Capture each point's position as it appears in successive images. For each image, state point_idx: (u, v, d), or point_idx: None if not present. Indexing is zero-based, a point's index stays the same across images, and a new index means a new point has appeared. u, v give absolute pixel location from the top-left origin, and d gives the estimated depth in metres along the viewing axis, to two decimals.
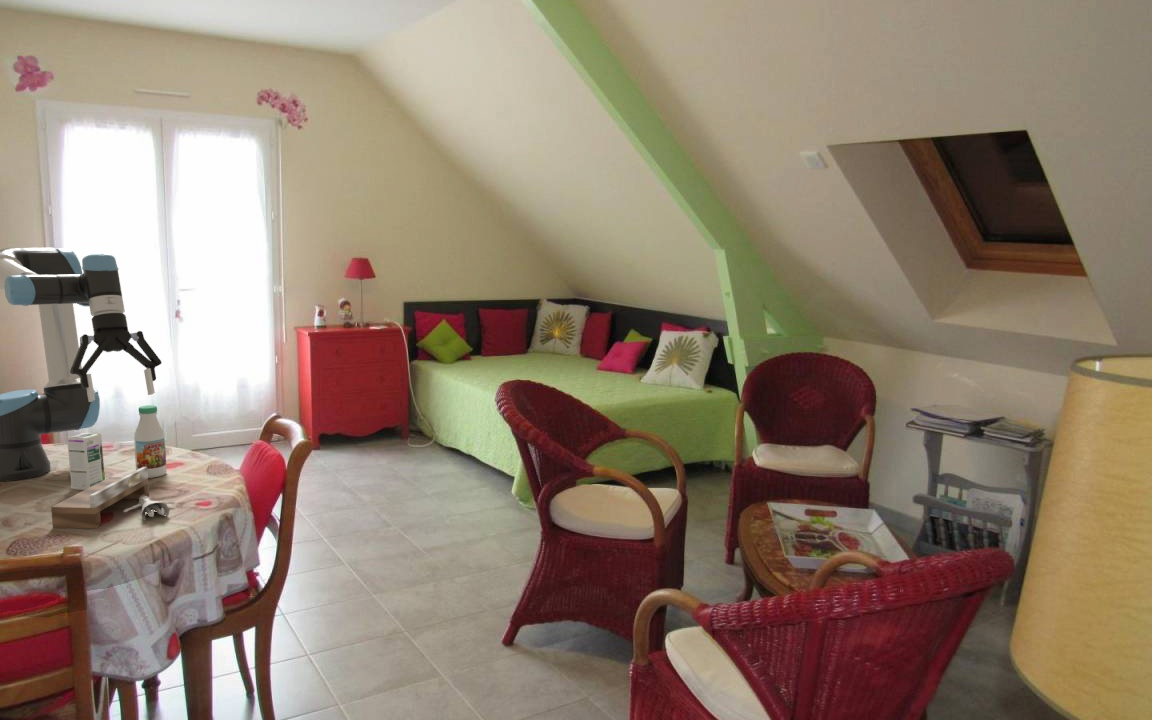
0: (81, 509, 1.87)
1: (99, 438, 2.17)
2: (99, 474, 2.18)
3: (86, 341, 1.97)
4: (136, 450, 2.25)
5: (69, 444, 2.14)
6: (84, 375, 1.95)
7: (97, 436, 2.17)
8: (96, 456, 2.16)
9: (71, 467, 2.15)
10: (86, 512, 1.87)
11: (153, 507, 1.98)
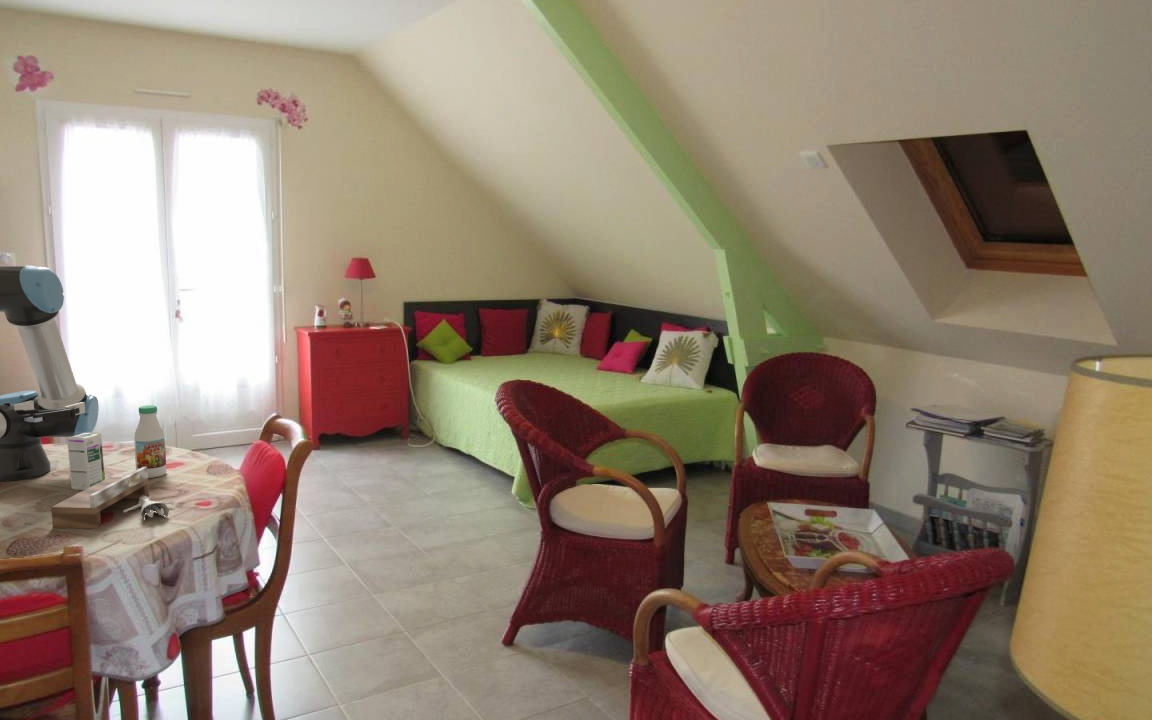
0: (81, 509, 1.87)
1: (99, 438, 2.17)
2: (99, 474, 2.18)
3: None
4: (136, 450, 2.25)
5: (69, 444, 2.14)
6: None
7: (97, 436, 2.17)
8: (96, 456, 2.16)
9: (71, 467, 2.15)
10: (86, 512, 1.87)
11: (153, 507, 1.98)
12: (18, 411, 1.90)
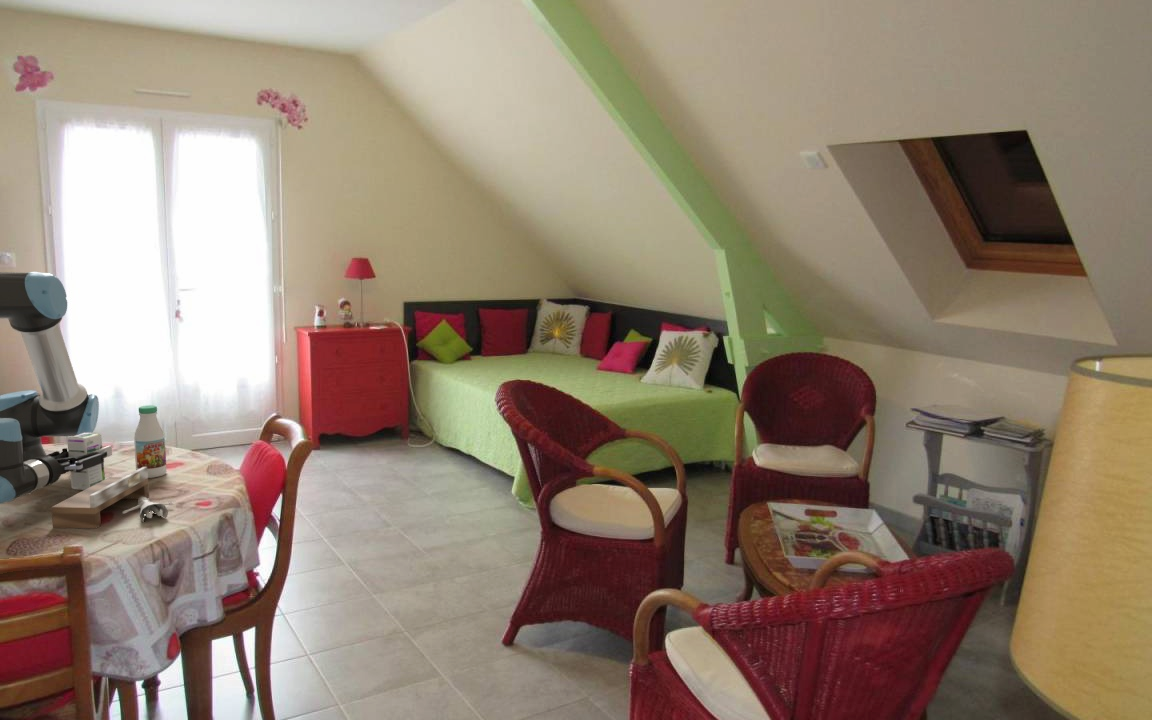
0: (81, 509, 1.87)
1: (99, 438, 2.17)
2: (99, 474, 2.18)
3: None
4: (136, 450, 2.25)
5: (69, 444, 2.14)
6: None
7: (97, 436, 2.17)
8: None
9: None
10: (86, 512, 1.87)
11: (152, 508, 1.97)
12: (60, 460, 2.04)
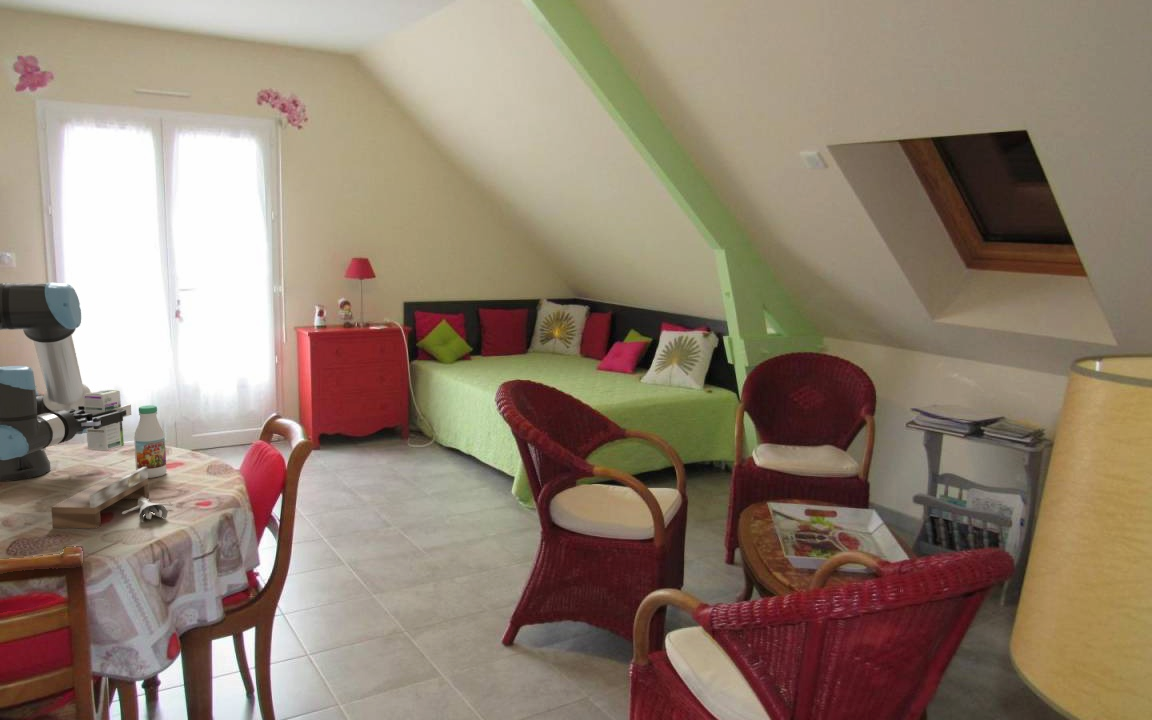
0: (81, 509, 1.87)
1: (117, 395, 2.02)
2: (117, 434, 2.02)
3: None
4: (136, 450, 2.25)
5: (86, 401, 1.98)
6: None
7: (116, 393, 2.01)
8: None
9: None
10: (86, 512, 1.87)
11: (151, 509, 1.97)
12: (76, 416, 1.89)
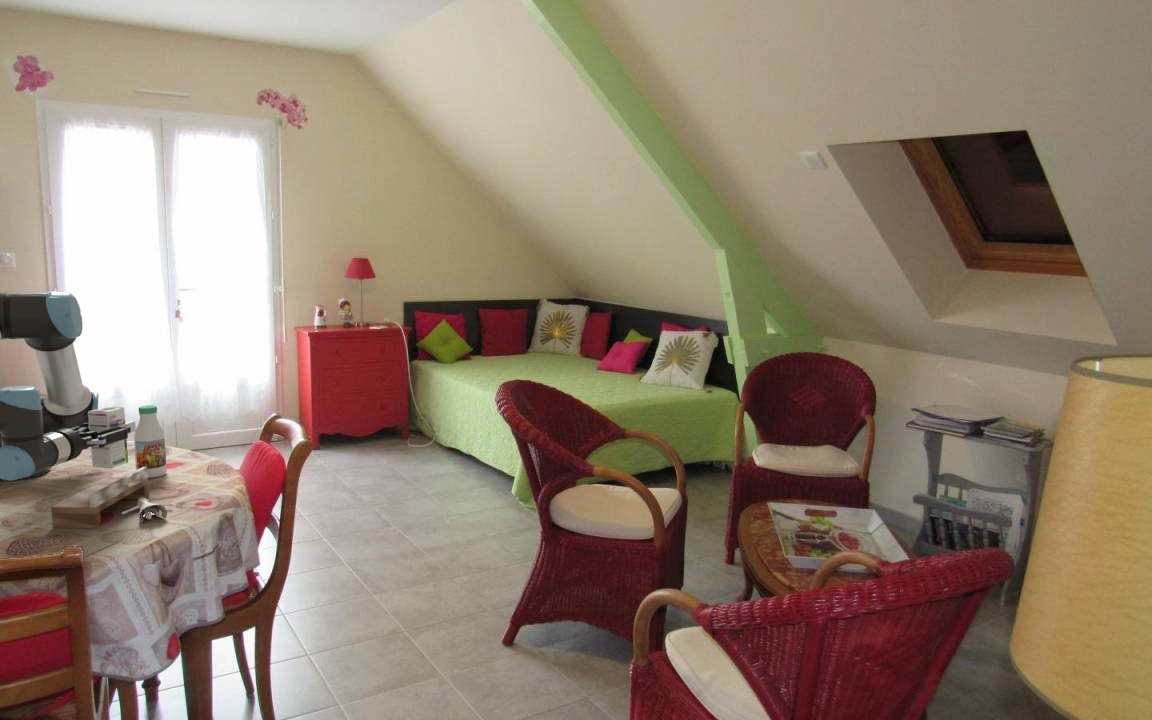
0: (81, 509, 1.87)
1: (122, 412, 2.02)
2: (122, 451, 2.02)
3: None
4: (136, 450, 2.25)
5: (90, 418, 1.98)
6: None
7: (120, 410, 2.01)
8: None
9: None
10: (86, 512, 1.87)
11: (151, 509, 1.96)
12: (81, 434, 1.89)
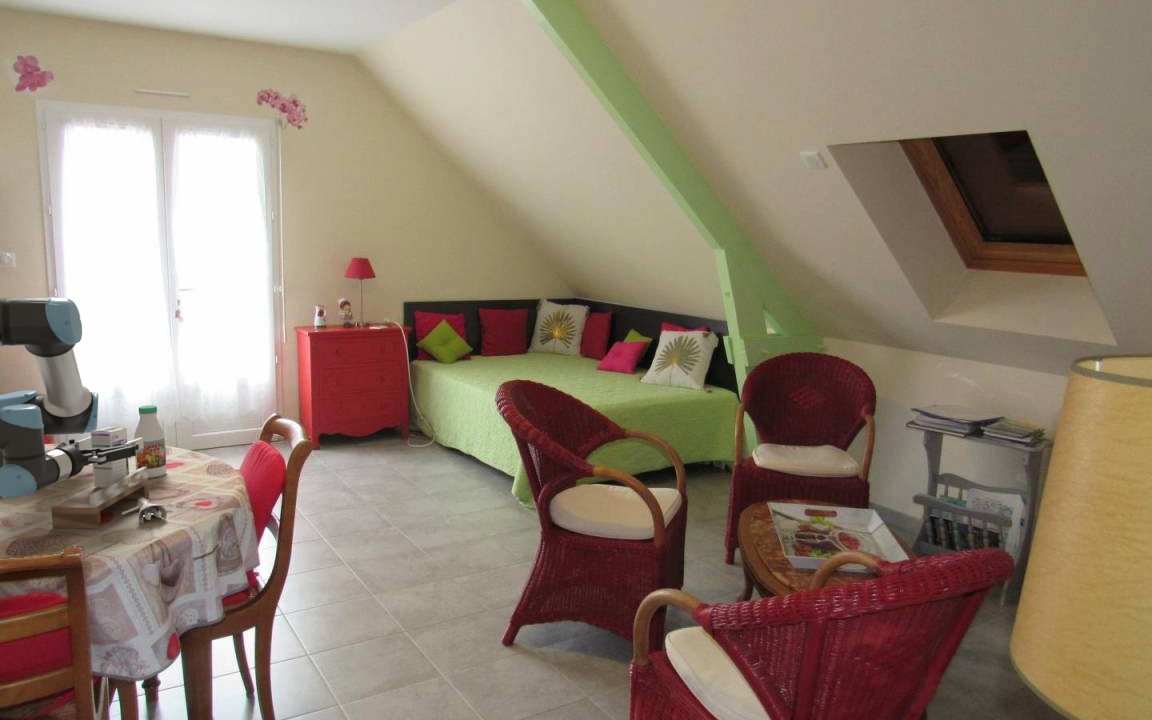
0: (81, 509, 1.87)
1: (124, 432, 2.03)
2: (124, 471, 2.03)
3: None
4: None
5: (93, 438, 1.99)
6: None
7: (123, 431, 2.03)
8: None
9: (94, 463, 2.00)
10: (86, 512, 1.87)
11: (151, 510, 1.96)
12: (82, 450, 1.90)
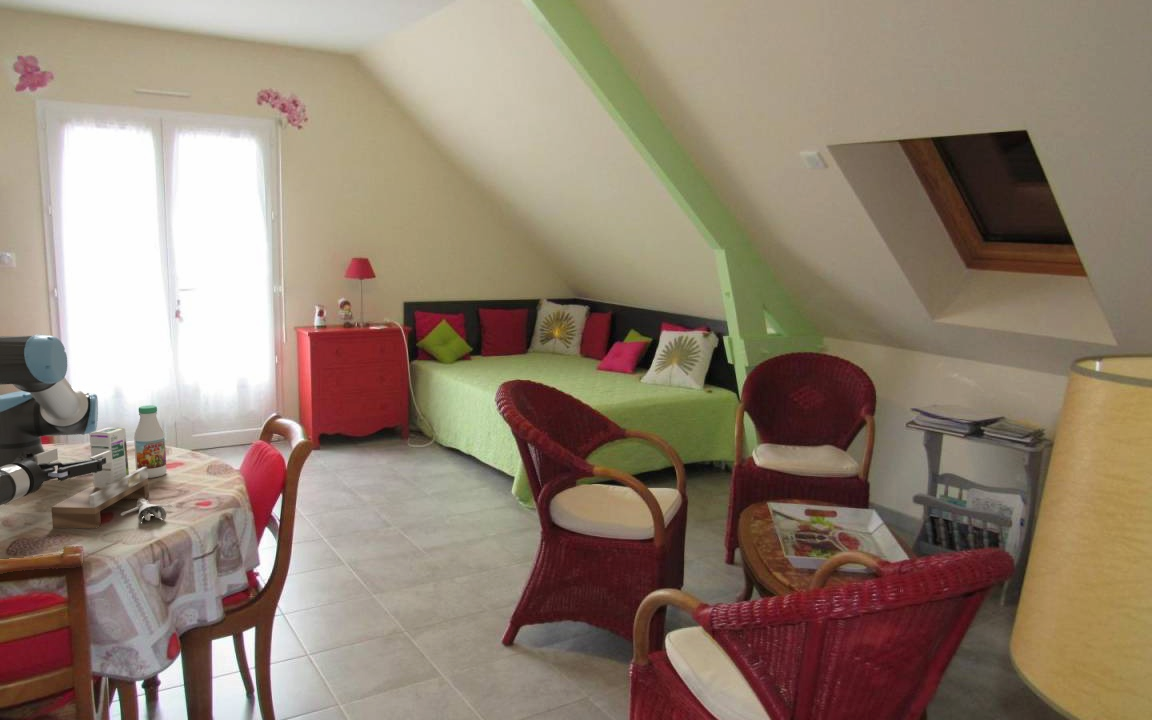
0: (81, 509, 1.87)
1: (123, 433, 2.03)
2: (123, 472, 2.03)
3: None
4: (136, 450, 2.25)
5: (92, 440, 1.99)
6: None
7: (122, 431, 2.02)
8: (120, 452, 2.02)
9: None
10: (86, 512, 1.87)
11: (150, 510, 1.96)
12: (42, 465, 1.77)
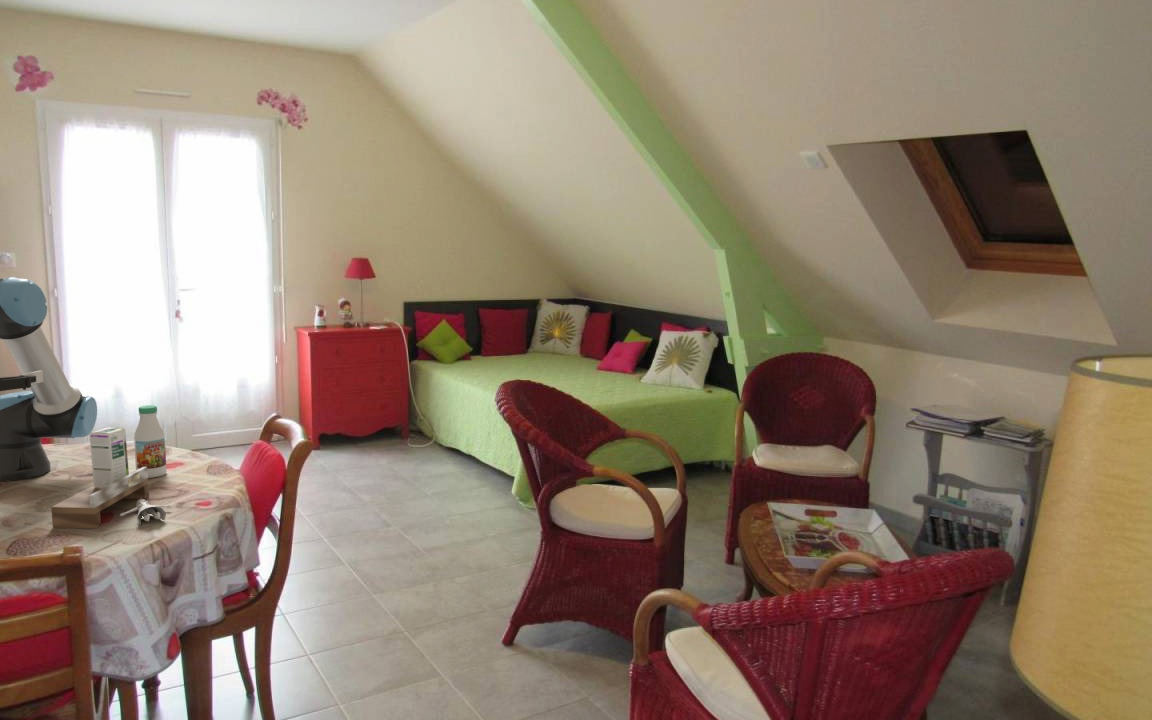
0: (81, 509, 1.87)
1: (123, 433, 2.03)
2: (123, 472, 2.03)
3: None
4: (136, 450, 2.25)
5: (92, 440, 1.99)
6: None
7: (122, 431, 2.02)
8: (120, 452, 2.02)
9: (94, 464, 2.00)
10: (86, 512, 1.87)
11: (150, 511, 1.95)
12: None
